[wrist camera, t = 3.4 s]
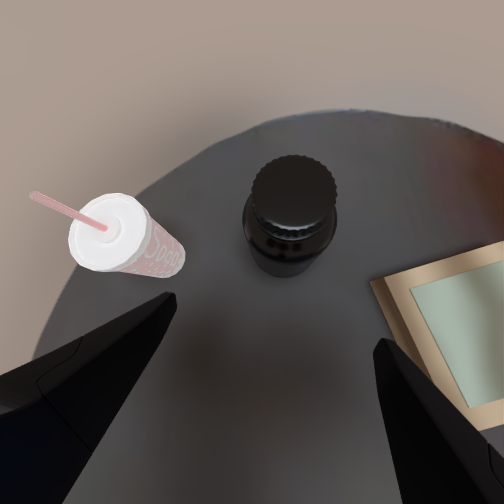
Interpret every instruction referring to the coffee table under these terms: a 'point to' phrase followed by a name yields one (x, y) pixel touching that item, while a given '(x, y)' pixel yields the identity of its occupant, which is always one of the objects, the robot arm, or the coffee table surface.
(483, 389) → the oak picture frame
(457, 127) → the coffee table surface
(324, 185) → the supplement bottle
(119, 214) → the beverage cup
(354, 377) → the coffee table surface
